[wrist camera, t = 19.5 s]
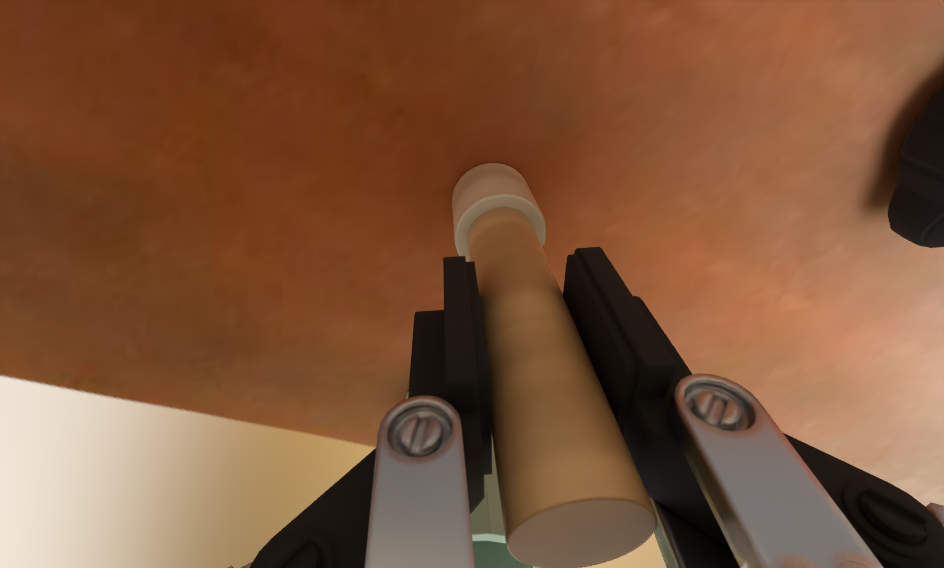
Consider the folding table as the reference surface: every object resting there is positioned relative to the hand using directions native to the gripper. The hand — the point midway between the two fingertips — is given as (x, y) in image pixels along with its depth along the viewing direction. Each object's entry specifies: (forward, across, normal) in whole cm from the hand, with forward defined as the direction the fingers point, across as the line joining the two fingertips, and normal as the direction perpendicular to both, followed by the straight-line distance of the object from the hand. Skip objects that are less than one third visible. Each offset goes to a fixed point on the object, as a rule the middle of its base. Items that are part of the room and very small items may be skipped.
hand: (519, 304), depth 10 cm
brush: (+7, 0, 0) cm, 7 cm away
